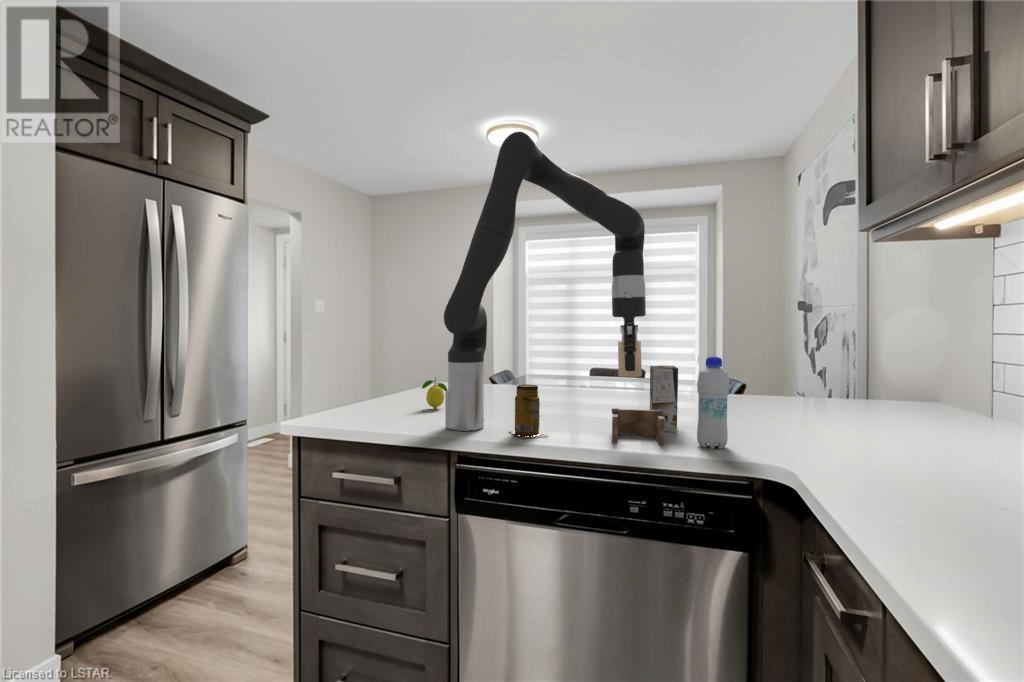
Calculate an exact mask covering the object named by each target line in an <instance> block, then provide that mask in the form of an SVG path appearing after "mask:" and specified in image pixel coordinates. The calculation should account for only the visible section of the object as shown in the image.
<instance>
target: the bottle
mask: <svg viewBox="0 0 1024 682" xmlns="http://www.w3.org/2000/svg"><path fill="white" fill-rule="evenodd" d="M722 367H723V359H722V358H721V357H719V356H713V355H712V356H708V357H707V358H706V359H705V368H703V369H701V370H699V371H698V377H697V381H696V387H697V389H696V391H697V393H698V408H697V409H698V412H697V413H698V414H697V415H698V417H697V418H698V420H697V428H696V429H697V431H696V439H697V442H698V445H699V446H701V447H703V448H707V447H708V444H709V447H710V449H713V450H714V449H715V448H716V445H717V449H718V448H719V450H720V449H722V448H725V447H726V445H727V444H728V395H729V393H730V391H729V390H730V380H729V373H728V371H727V370H725V369H723V368H722Z"/></svg>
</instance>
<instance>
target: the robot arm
mask: <svg viewBox="0 0 1024 682" xmlns="http://www.w3.org/2000/svg"><path fill="white" fill-rule="evenodd" d="M493 171H494V172H493V176H492V181H491V183H490V187H489V190H488V192H487V195H486V199H485V201H484V204H483V207H482V209H481V212H480V216H479V219H478V220H477V224H476V226H475V229H474V232H473V236H472V237H471V241H470V245H469V246H468V247H469V248H468V250H467V253H466V256H465V260H464V262H463V266H462V268H461V273H460V275H459V278H458V279H457V283H456V284H455V287H454V289H453V291H452V294H451V295H450V297H449V300H448V302H447V304H446V306H445V309H444V312H443V322H444V326H445V328H446V329H447V331H448V332H449V333H451V334H453V338H452V339H453V340H452V344H451V346H450V348H449V350H448V352H447V391H445V393H444V399H445V400H444V402H445V408H444V409H445V419H444V420H445V423H444V424H445V425H444V426H445V429H447V430H451V431H462V432H466V431H467V432H469V431H471V430H472V431H478V429H479V430H482V429H484V425H485V423H484V422H485V417H484V416H485V414H484V413H485V407H484V406H485V405H484V404H485V403H484V402H485V398H484V396H485V392H484V391H485V390H484V389H485V388H484V386H485V369H484V368H485V366H484V365H485V364H484V363H485V362H484V360H485V358H484V357H485V353H486V349H487V338H488V337H487V334H488V333H487V332H488V331H487V330H488V319H487V318H488V317H487V312H486V309H485V307H484V306H483V305H482V304H481V303H482V299H483V297H484V293H485V291H486V288H487V285H488V284H489V282H490V280H491V279H492V278H493V276H494V275H495V273H496V272H497V270H498V269H499V267H500V265H501V264H502V263H503V260H504V259H505V256H506V254H507V252H508V250H509V247H510V244H511V242H512V239H513V234H514V230H515V224H516V210H517V209H516V208H517V198H518V194H519V191H520V188H521V185H522V182H523V180H524V181H526V182H529V183H532V184H533V185H536V186H538V187H540V188H543V189H544V190H546V191H548V192H549V193H551V194H553V195H554V196H556V197H557V198H558V199H560V200H561V201H563V203H565V204H566V205H567V206H570V207H571V208H572V209H574V210H575V211H577V212H578V213H580V214H581V215H582V216H584V217H586V218H587V219H589V220H591V221H594V222H597V224H599V225H601V226H602V227H603V228H605V229H606V230H607V231H609V232H610V233H612V234H613V235H614V253H613V256H612V262H611V263H612V282H611V310H612V313H611V315H612V317H613V318H622V319H623V322H624V323H623V325H620V333H621V341H622V345H624V354H627V355H625V370H626V371H635V355H633V354H635V353H636V345H637V341H638V333H639V324H635V318H640V317H641V318H642V317H645V316H646V313H647V312H646V282H645V275H644V274H645V271H644V270H645V268H644V245H645V232H646V231H645V220H644V219H643V217H642V216H641V214H640V212H639V211H638V210H637V209H635V208H634V207H632V206H631V205H630V204H627V203H626V202H624V201H622V200H620V199H617V198H616V197H614V196H611V195H610V194H609V193H608V192H607V191H605V190H604V189H601V188H600V187H599V186H597V185H595V184H594V183H592V182H591V181H589V180H587V179H585V178H583V177H582V176H578V175H576V174H574V173H571V172H569V171H567V170H565V169H564V168H562V167H560V166H559V165H557V164H556V163H555V162H554V161H553V160H551V159H550V158H549V157H548V156H547V155H546V154H545V153H544V152H543V150H541V148H540V146H539V145H538V144H537V143H536V141H535V140H534V139H533V138H532V137H531V136H530V135H529V134H528V133H526V132H524V131H515V132H512V133H510V134H509V135H508V136H507V137H506V138H504V140H503V142H502V144H501V146H500V148H499V151H498V155H497V159H496V163H495V168H494V170H493ZM627 344H632V345H633V346H628V347H626V345H627Z"/></svg>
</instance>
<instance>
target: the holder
mask: <svg viewBox="0 0 1024 682" xmlns="http://www.w3.org/2000/svg"><path fill="white" fill-rule="evenodd" d="M611 415H612V416H611V418H612V420H611V421H612V422H611V424H612V425H611V426H612V427H611V443H612V444H618V439H619V438H618V435H619V434H618V433H622V434H621V435H633V434H634V435H635V434H636V435H635V436H637V435H638V436H654V435H656V436H655V439H656V441H657V444H658V446H663V447H664V446H665V431H664V421H665V419H664V417H663V415H664V411H663V410H650V409H635V408H633V409H631V408H614V407H612V408H611Z"/></svg>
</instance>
